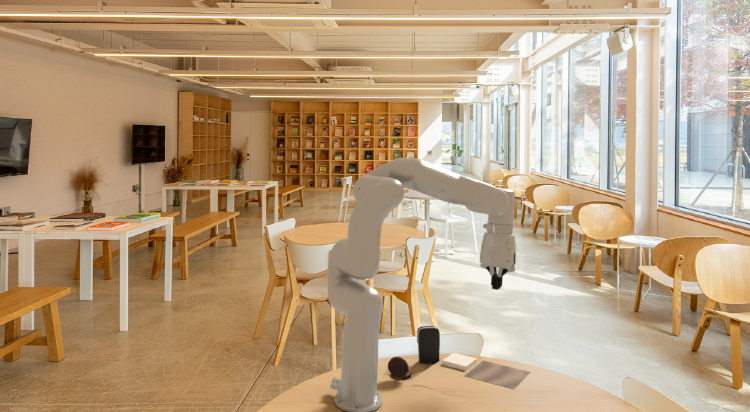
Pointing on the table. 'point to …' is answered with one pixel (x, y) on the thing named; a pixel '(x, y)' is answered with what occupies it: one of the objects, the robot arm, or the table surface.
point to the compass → (399, 368)
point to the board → (498, 374)
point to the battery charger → (428, 344)
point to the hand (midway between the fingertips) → (496, 288)
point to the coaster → (459, 361)
